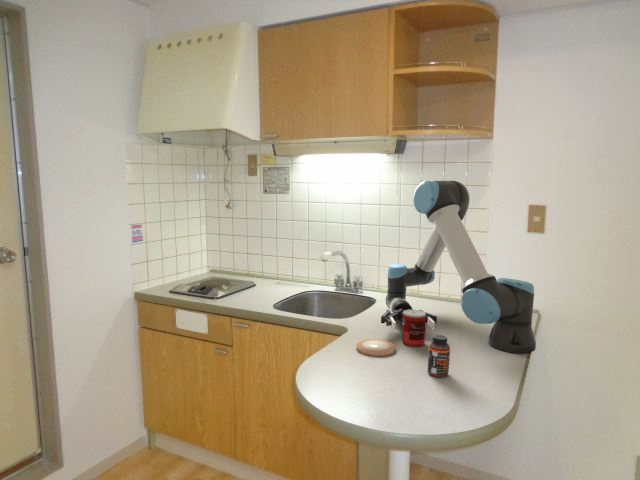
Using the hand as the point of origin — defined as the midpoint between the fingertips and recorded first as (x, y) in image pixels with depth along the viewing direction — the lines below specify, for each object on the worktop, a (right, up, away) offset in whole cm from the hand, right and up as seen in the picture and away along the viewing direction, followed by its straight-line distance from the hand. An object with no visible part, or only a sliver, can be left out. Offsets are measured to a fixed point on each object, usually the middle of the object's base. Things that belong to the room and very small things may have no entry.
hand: (414, 326), depth 160 cm
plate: (-14, -7, -4) cm, 16 cm away
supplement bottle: (+2, -10, -24) cm, 26 cm away
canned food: (0, -6, +2) cm, 7 cm away
